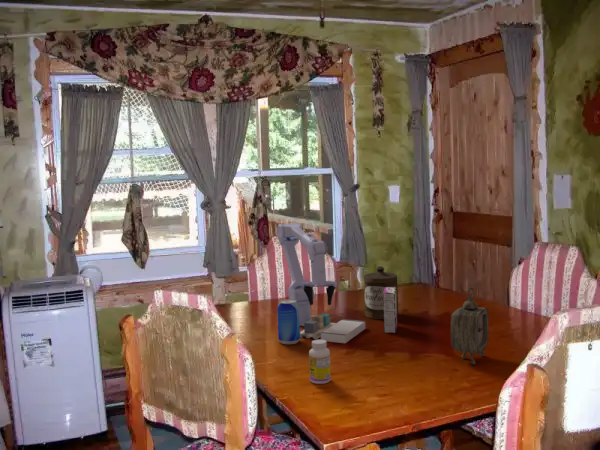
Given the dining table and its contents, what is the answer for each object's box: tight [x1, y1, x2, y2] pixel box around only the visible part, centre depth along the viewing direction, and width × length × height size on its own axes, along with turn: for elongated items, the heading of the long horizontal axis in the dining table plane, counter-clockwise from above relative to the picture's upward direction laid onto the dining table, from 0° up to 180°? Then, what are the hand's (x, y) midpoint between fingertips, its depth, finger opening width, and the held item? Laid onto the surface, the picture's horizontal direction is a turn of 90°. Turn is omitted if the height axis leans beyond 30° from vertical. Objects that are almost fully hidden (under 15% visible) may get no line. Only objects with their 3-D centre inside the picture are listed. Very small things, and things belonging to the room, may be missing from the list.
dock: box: [320, 318, 366, 344], centre depth 249 cm, size 10×22×3 cm, turn 154°
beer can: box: [276, 298, 301, 345], centre depth 241 cm, size 8×8×16 cm
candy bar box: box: [383, 287, 398, 334], centre depth 254 cm, size 11×5×16 cm, turn 168°
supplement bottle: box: [308, 339, 332, 385], centre depth 197 cm, size 7×7×13 cm
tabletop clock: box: [450, 287, 490, 366], centre depth 213 cm, size 14×9×25 cm, turn 148°
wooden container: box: [363, 266, 399, 320], centre depth 277 cm, size 15×15×22 cm
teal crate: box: [318, 312, 331, 326], centre depth 260 cm, size 4×4×4 cm
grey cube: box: [303, 320, 318, 334], centre depth 249 cm, size 4×4×4 cm
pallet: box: [300, 314, 337, 340], centre depth 254 cm, size 8×19×7 cm, turn 154°
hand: (320, 304), depth 252 cm, fingers open, 7 cm apart
